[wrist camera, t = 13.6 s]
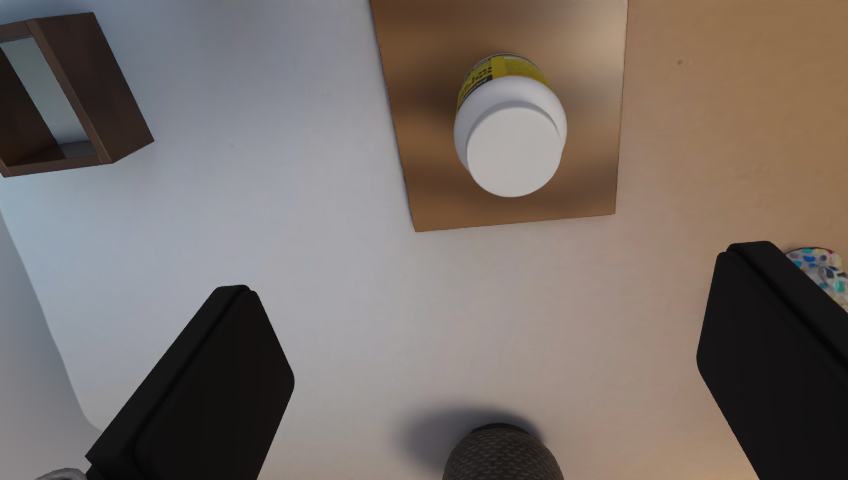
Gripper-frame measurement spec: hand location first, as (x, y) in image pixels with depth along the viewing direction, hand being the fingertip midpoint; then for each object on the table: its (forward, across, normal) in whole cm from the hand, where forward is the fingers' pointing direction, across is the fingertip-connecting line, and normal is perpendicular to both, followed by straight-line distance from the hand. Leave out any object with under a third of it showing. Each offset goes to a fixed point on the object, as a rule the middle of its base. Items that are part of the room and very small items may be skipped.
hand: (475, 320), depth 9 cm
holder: (+26, +31, -3) cm, 41 cm away
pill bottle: (+25, -2, +2) cm, 25 cm away
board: (+26, -2, +2) cm, 26 cm away
